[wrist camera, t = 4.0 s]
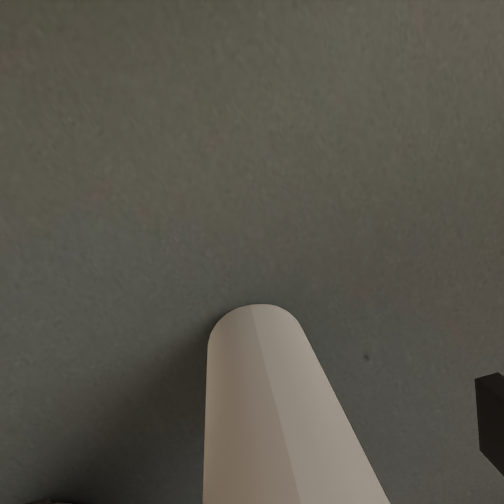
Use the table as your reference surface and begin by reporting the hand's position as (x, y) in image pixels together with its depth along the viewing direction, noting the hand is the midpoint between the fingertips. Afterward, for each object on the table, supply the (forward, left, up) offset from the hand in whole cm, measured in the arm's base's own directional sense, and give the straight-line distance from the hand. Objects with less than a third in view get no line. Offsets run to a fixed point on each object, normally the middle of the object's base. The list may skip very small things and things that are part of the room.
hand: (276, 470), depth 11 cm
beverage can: (0, 0, -8) cm, 8 cm away
